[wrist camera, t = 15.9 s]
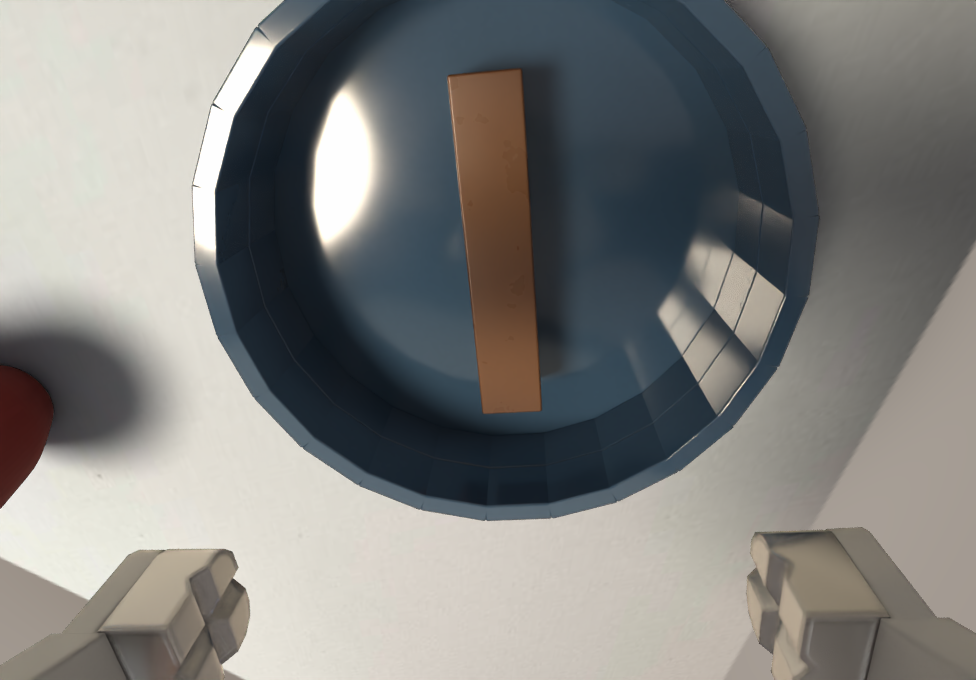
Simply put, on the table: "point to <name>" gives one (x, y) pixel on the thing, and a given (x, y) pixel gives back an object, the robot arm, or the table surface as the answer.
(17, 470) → the mug
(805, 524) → the table surface
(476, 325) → the stick
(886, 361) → the table surface
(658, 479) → the bowl
